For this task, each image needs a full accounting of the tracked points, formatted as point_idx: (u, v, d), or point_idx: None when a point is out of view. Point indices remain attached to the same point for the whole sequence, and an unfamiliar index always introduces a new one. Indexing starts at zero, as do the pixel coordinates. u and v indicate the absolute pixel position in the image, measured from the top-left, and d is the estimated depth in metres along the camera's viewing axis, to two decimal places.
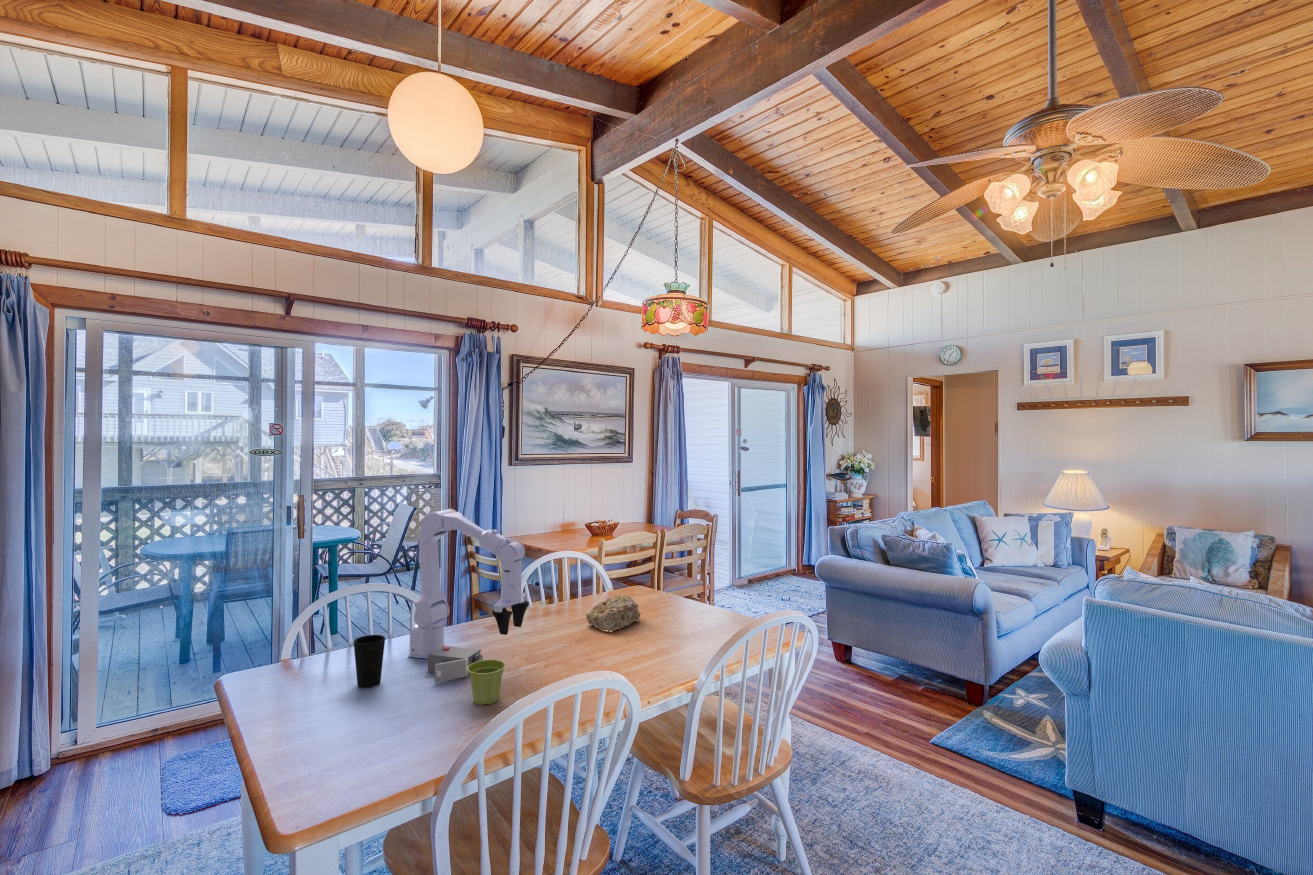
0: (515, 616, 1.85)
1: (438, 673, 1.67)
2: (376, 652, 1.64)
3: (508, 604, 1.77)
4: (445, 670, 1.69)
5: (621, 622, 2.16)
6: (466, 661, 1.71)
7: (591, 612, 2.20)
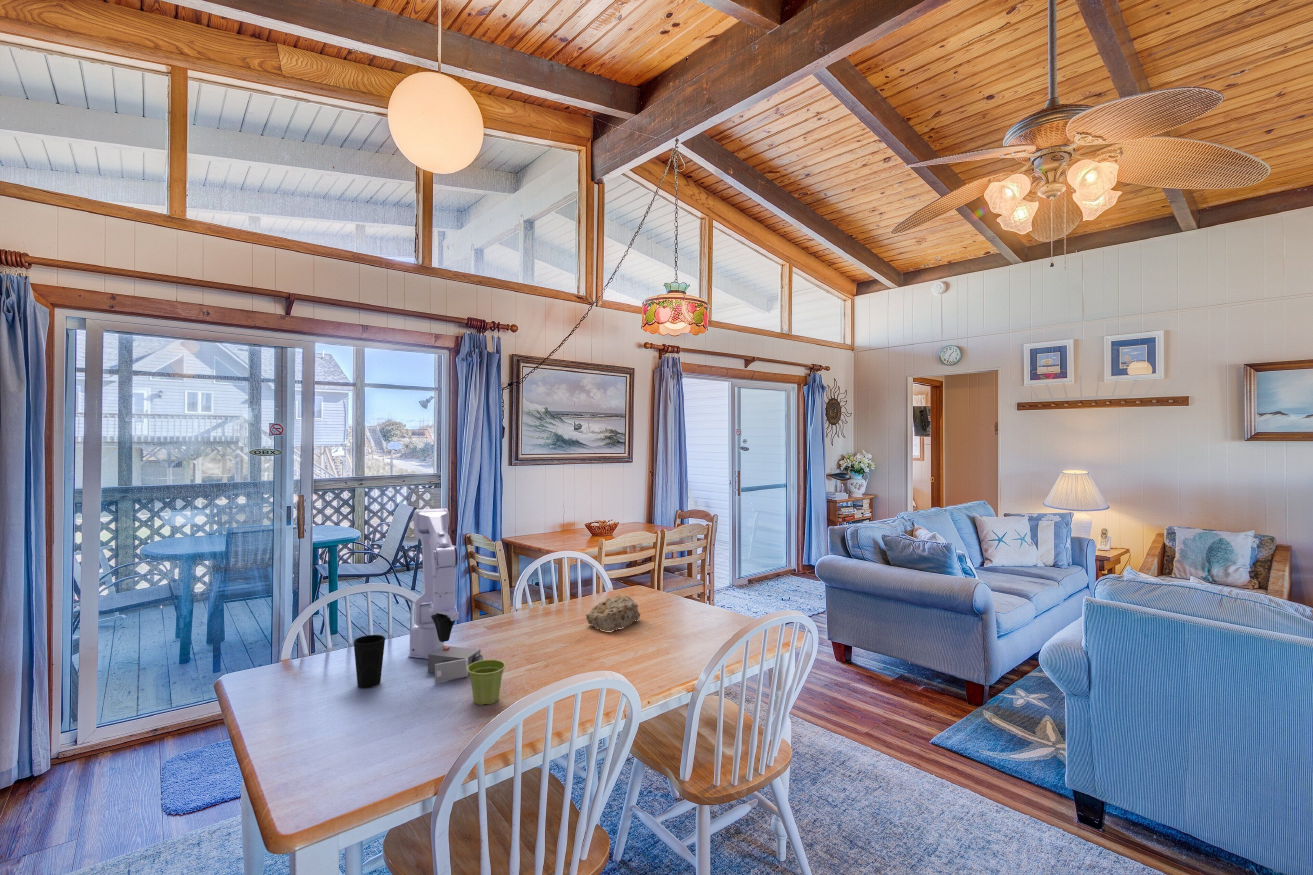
0: None
1: (438, 673, 1.67)
2: (376, 652, 1.64)
3: (432, 606, 1.73)
4: (445, 670, 1.69)
5: (621, 623, 2.15)
6: (466, 661, 1.71)
7: (591, 612, 2.20)
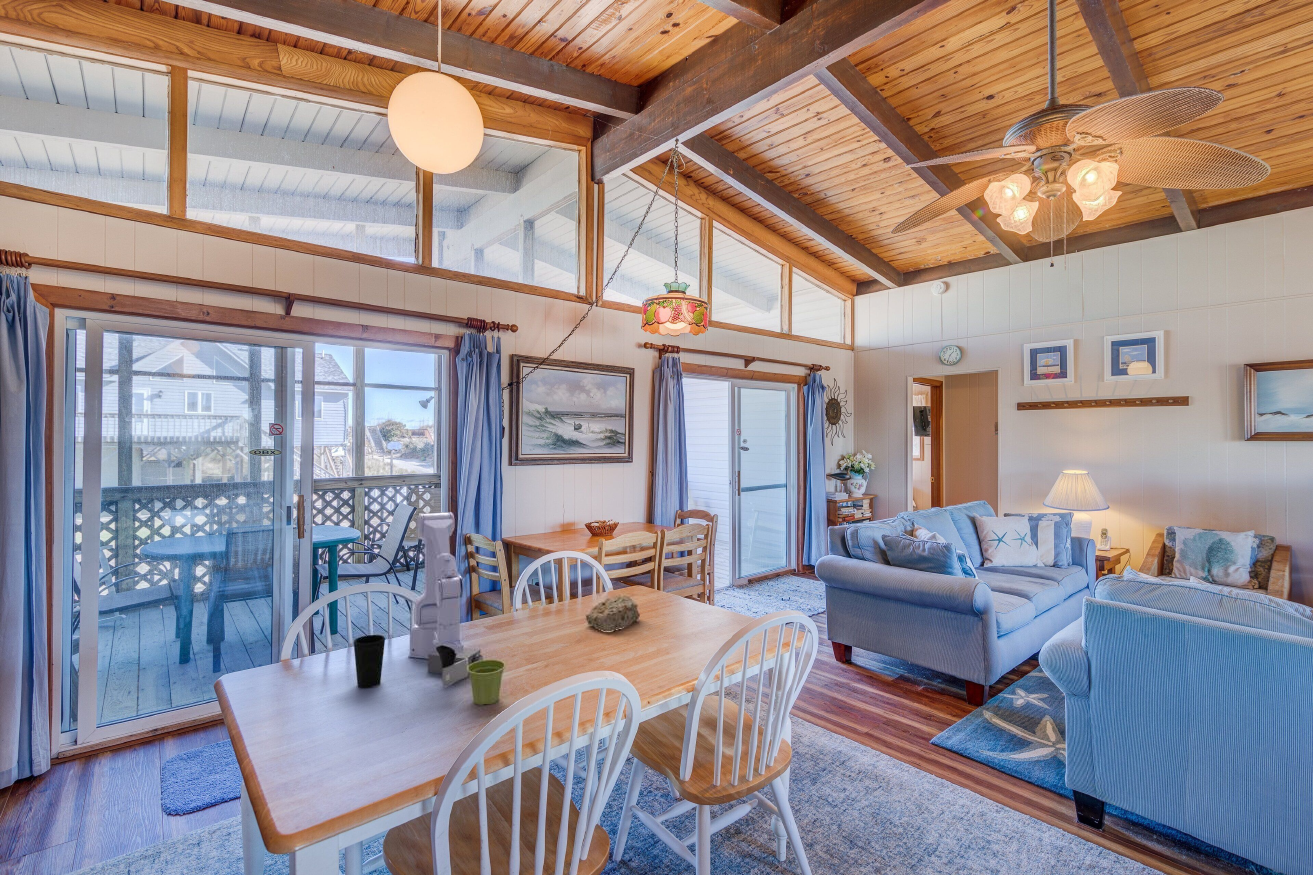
0: None
1: (447, 677, 1.65)
2: (376, 652, 1.64)
3: (436, 636, 1.69)
4: (451, 673, 1.67)
5: (621, 623, 2.15)
6: (467, 661, 1.72)
7: (591, 613, 2.19)
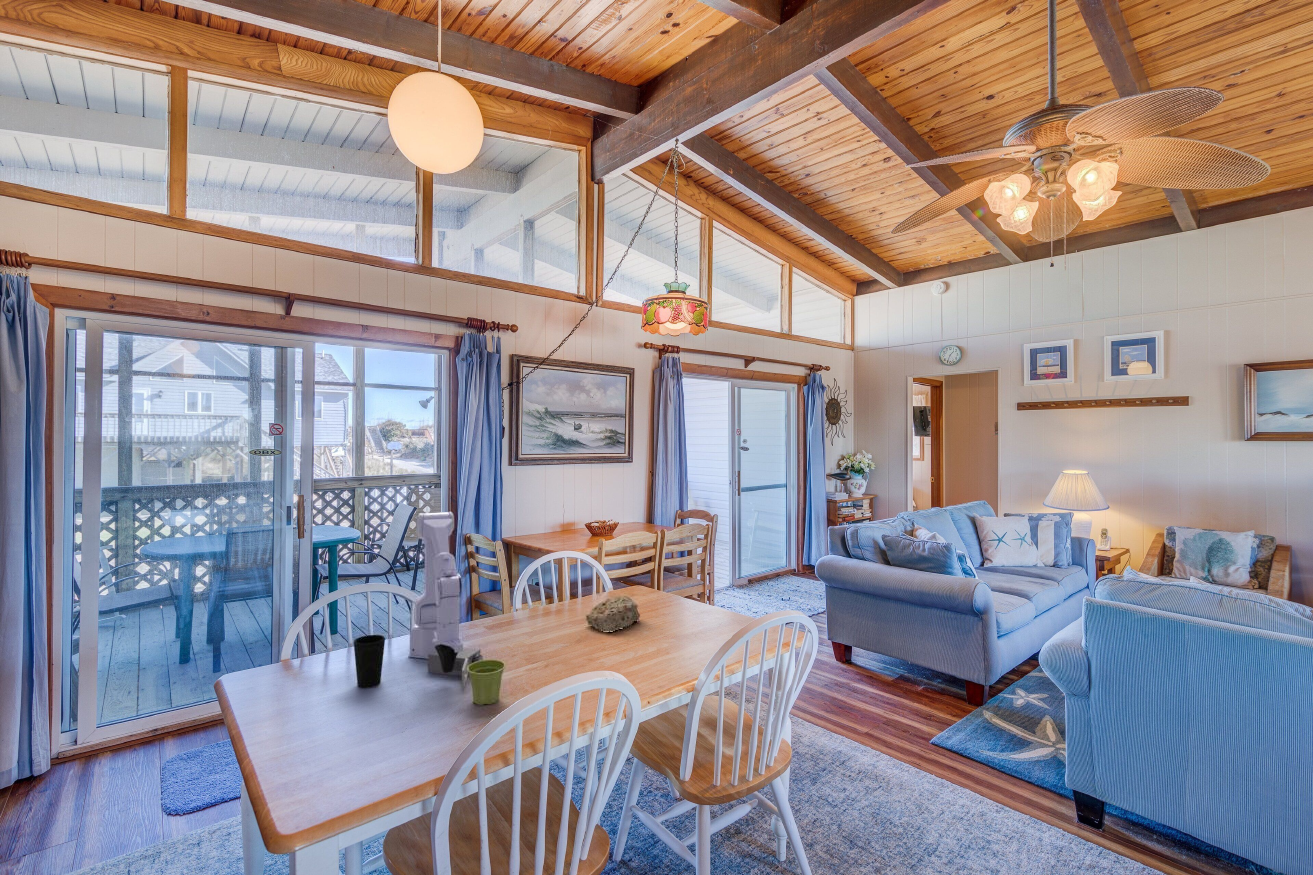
0: None
1: (466, 678, 1.64)
2: (376, 652, 1.64)
3: (435, 636, 1.69)
4: (465, 673, 1.66)
5: (622, 623, 2.15)
6: (467, 661, 1.72)
7: (591, 613, 2.19)
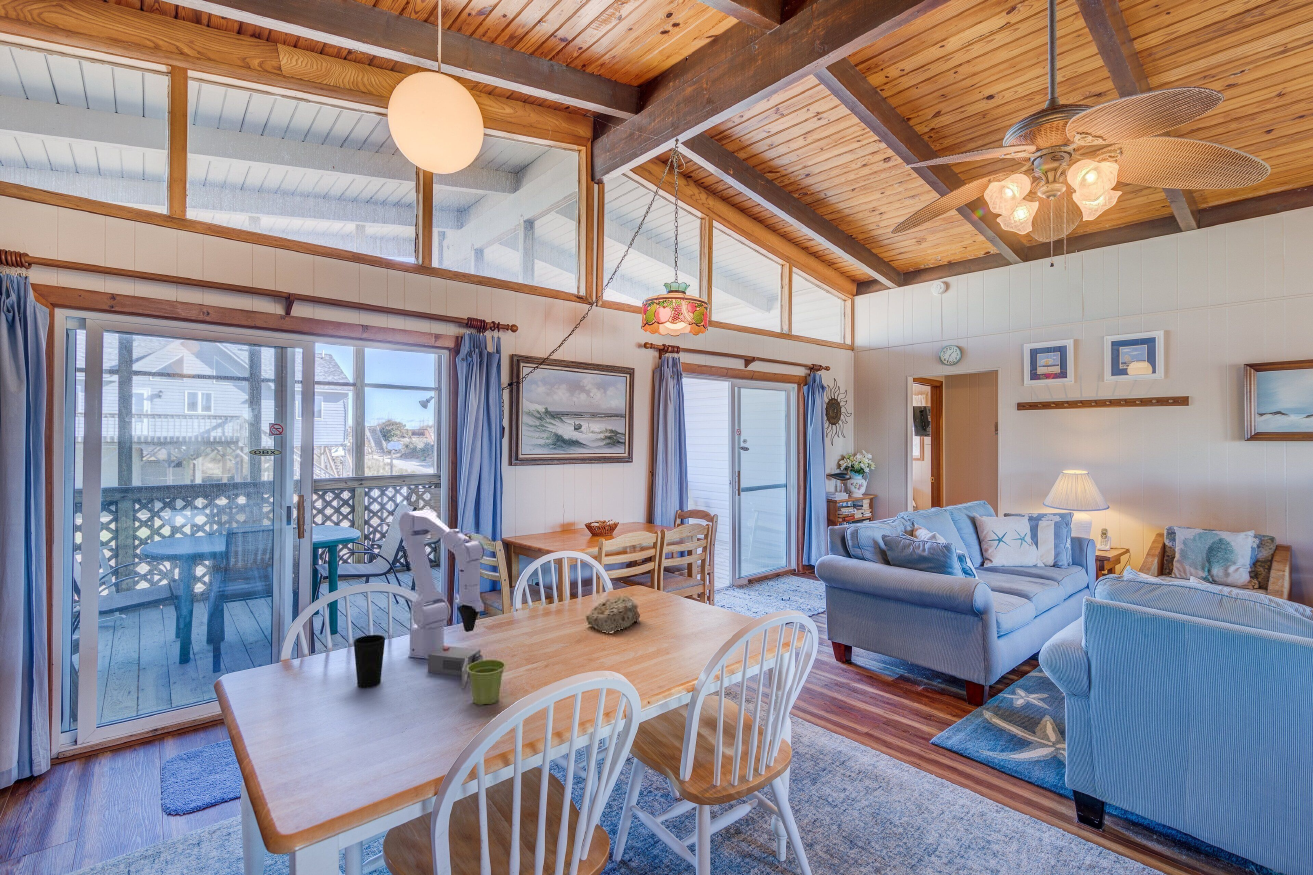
0: None
1: (466, 678, 1.64)
2: (376, 652, 1.64)
3: (457, 598, 1.82)
4: (465, 673, 1.66)
5: (622, 623, 2.15)
6: (467, 661, 1.72)
7: (591, 613, 2.19)
